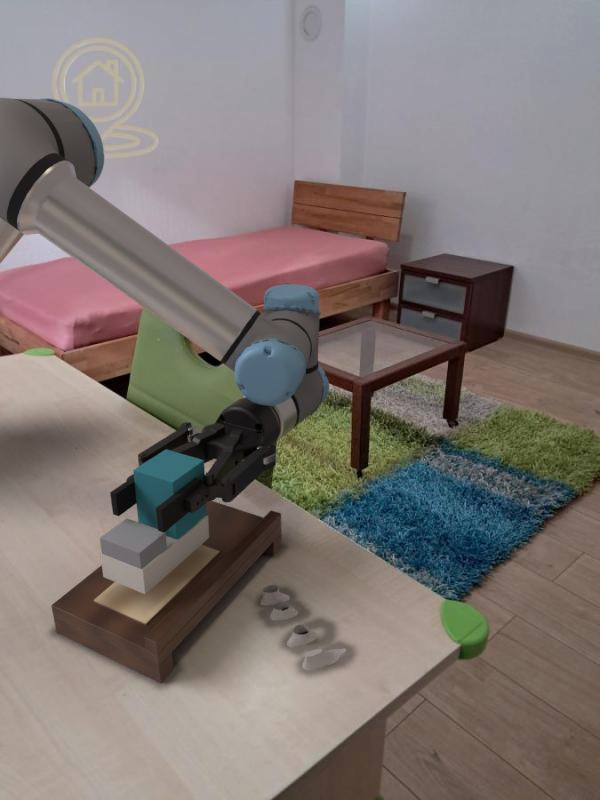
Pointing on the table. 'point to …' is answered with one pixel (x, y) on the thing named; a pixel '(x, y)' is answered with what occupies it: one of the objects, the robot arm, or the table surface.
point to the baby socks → (298, 630)
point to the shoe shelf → (166, 595)
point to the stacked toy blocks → (154, 525)
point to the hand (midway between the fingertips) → (137, 512)
